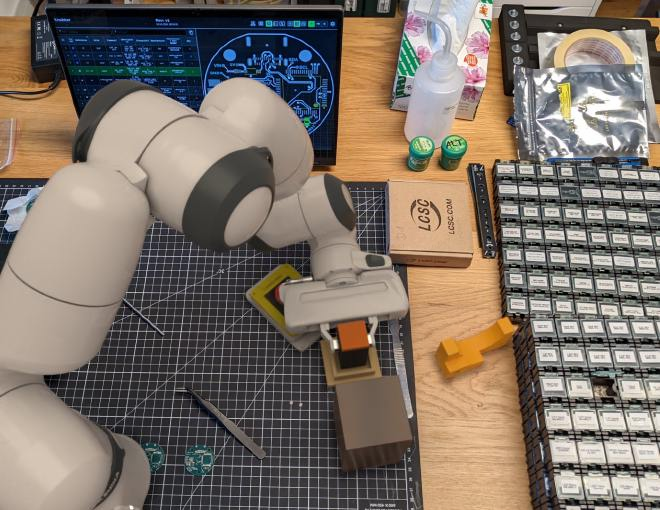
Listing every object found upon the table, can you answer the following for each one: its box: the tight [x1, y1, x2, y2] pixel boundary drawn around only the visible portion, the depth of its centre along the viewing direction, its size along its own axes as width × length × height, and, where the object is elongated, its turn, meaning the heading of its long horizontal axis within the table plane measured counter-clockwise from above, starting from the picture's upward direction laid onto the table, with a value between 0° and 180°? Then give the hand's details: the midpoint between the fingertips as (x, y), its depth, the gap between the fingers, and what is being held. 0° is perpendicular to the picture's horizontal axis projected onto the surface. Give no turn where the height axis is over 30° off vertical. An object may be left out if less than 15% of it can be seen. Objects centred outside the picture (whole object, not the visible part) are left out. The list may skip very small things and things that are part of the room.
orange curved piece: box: [434, 316, 516, 380], centre depth 102 cm, size 12×4×6 cm, turn 111°
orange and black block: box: [336, 321, 370, 369], centre depth 98 cm, size 4×4×9 cm
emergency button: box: [245, 263, 322, 353], centre depth 106 cm, size 9×4×15 cm
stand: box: [332, 374, 414, 473], centre depth 91 cm, size 9×9×16 cm
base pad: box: [319, 331, 383, 388], centre depth 102 cm, size 9×8×3 cm
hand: (353, 349), depth 97 cm, fingers closed on orange and black block, 4 cm apart
